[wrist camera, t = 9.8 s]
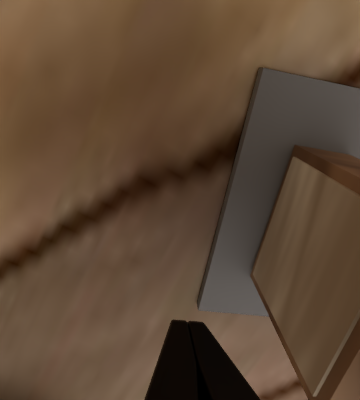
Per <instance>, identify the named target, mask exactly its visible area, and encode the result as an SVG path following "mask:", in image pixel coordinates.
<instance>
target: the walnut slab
mask: <svg viewBox="0 0 360 400" xmlns="http://www.w3.org/2000/svg"><path fill="white" fill-rule="evenodd" d="M250 277H251V279H252V281H253V283H254V285H255V287H256V289H257V292H258V294H259V296H260V298H261V300H262V302H263V304H264V306H265V309H266V311H267V313H268V315H269V317H270V319H271V321H272V323H273V325H274V328H275V330H276V332H277V334H278V336H279V338H280V340H281V342H282V345H283V347H284V349H285V351H286V353H287V355H288V357H289V359H290V361H291V364H292V366H293V368H294V370H295V372H296V374H297V376H298V378H299V381H300V383H301V385H302V387H303V389H304V391H305V393H306V395H307V397H308V400H360V159H358V158H356V157H353V156H351V155H348V154H343V153H337V152H332V151H327V150H321V149H316V148H310V147H305V146H299V145H294V148H293V151H292V154H291V157H290V160H289V163H288V166H287V169H286V172H285V175H284V178H283V181H282V184H281V187H280V190H279V192H278V195H277V198H276V201H275V204H274V207H273V210H272V213H271V216H270V219H269V222H268V225H267V228H266V231H265V234H264V237H263V239H262V242H261V245H260V248H259V251H258V254H257V257H256V260H255V263H254V266H253V269H252V272H251V275H250Z"/></svg>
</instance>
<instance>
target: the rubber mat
mask: <svg viewBox="0 0 360 400" xmlns="http://www.w3.org/2000/svg"><path fill="white" fill-rule="evenodd" d="M294 145H299V146H305V147H310V148H316V149H321V150H327V151H332V152H337V153H343V154H348V155H351V156H353V157H356V158H358V159H360V89H359V88H355V87H350V86H345V85H341V84H336V83H331V82H327V81H322V80H318V79H313V78H308V77H304V76H299V75H295V74H290V73H285V72H281V71H276V70H271V69H267V68H259V71H258V75H257V78H256V82H255V86H254V90H253V94H252V97H251V101H250V105H249V109H248V112H247V116H246V120H245V124H244V128H243V131H242V135H241V139H240V143H239V147H238V150H237V154H236V158H235V162H234V165H233V169H232V173H231V177H230V181H229V184H228V188H227V192H226V196H225V199H224V203H223V207H222V211H221V215H220V218H219V222H218V226H217V230H216V234H215V237H214V241H213V245H212V249H211V252H210V256H209V260H208V264H207V268H206V271H205V275H204V279H203V283H202V286H201V290H200V294H199V298H198V302H197V306H198V310H200V311H211V312H223V313H234V314H246V315H258V316H269V315H268V313H267V311H266V309H265V306H264V304H263V302H262V300H261V298H260V296H259V294H258V292H257V289H256V287H255V285H254V283H253V281H252V279H251V277H250V275H251V272H252V269H253V266H254V263H255V260H256V257H257V254H258V251H259V248H260V245H261V242H262V239H263V237H264V234H265V231H266V228H267V225H268V222H269V219H270V216H271V213H272V210H273V207H274V204H275V201H276V198H277V195H278V192H279V190H280V187H281V184H282V181H283V178H284V175H285V172H286V169H287V166H288V163H289V160H290V157H291V154H292V151H293V148H294Z"/></svg>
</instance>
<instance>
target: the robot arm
mask: <svg viewBox="0 0 360 400" xmlns="http://www.w3.org/2000/svg"><path fill="white" fill-rule="evenodd" d="M145 400H260V399H259V397H258V396H257V394H256V393H255V392H254V390H253V389H252V388H251V386H250V385H249V384H248V382H247V381H246V380H245V378H244V377H243V375H242V374H241V373H240V371H239V370H238V369H237V367H236V366H235V365H234V363H233V362H232V361H231V359H230V358H229V356H228V355H227V354H226V352H225V351H224V350H223V348H222V347H221V346H220V344H219V343H218V342H217V340H216V339H215V337H214V336H213V335H212V333H211V332H210V331H209V329H208V328H207V327H206V325H205V324H204V323H203V322H197V321H189V322H186V321H185V320H172V321H171V323H170V326H169V329H168V332H167V335H166V338H165V341H164V344H163V347H162V349H161V352H160V355H159V358H158V361H157V364H156V367H155V370H154V373H153V376H152V379H151V382H150V385H149V388H148V391H147V394H146V397H145Z"/></svg>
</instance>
